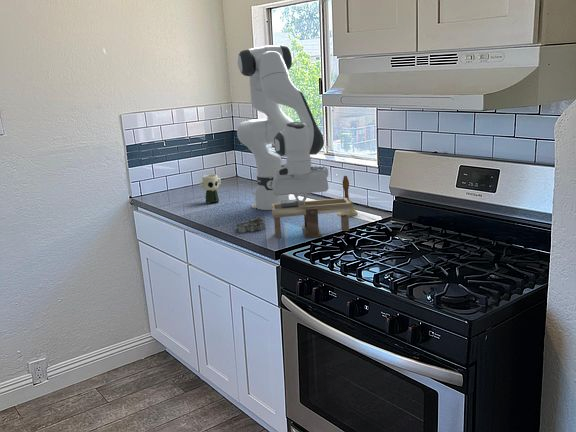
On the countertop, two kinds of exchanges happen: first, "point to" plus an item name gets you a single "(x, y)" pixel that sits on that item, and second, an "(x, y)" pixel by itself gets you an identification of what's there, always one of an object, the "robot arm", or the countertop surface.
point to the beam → (321, 205)
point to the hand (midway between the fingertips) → (301, 205)
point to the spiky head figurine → (210, 187)
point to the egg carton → (251, 225)
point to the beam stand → (312, 224)
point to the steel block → (289, 203)
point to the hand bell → (346, 187)
